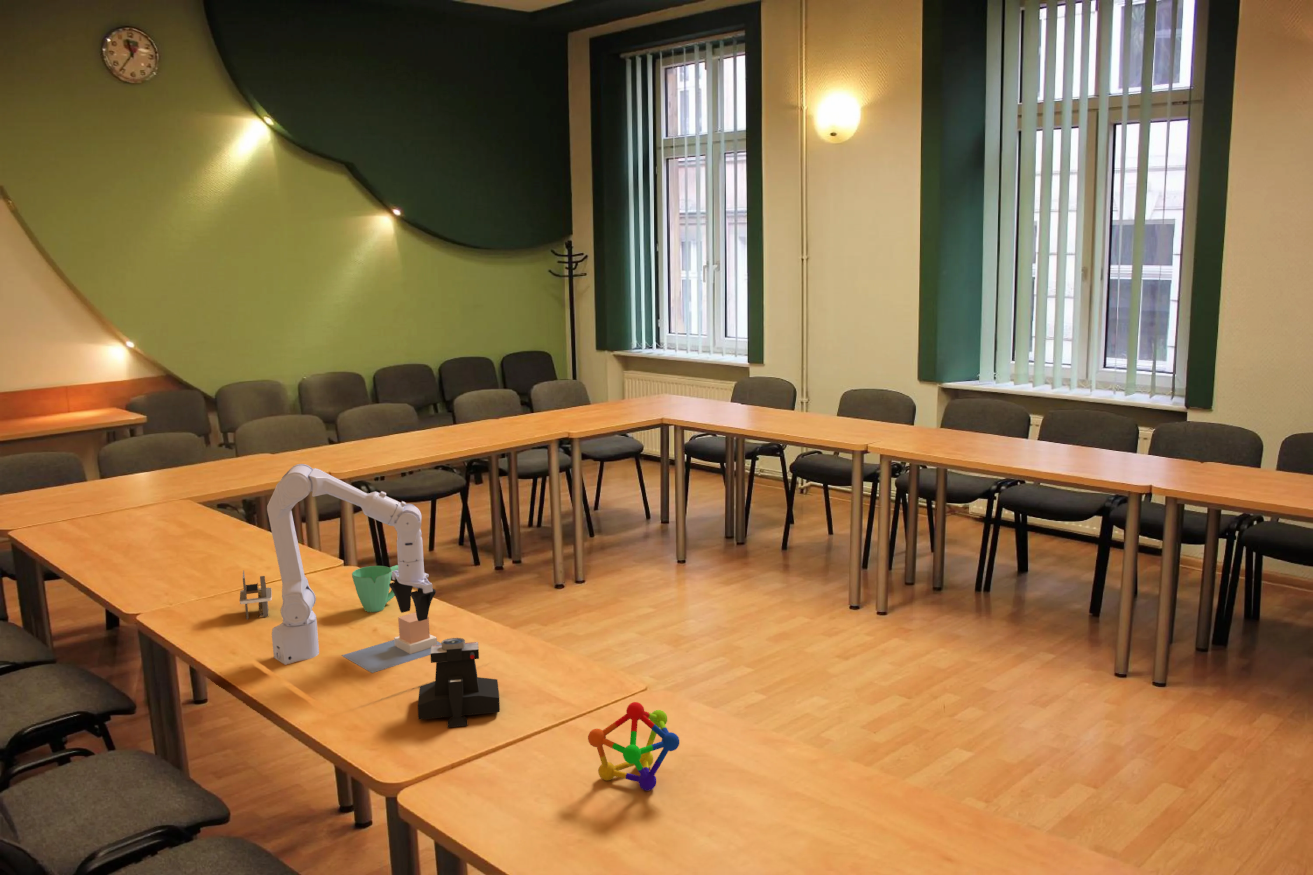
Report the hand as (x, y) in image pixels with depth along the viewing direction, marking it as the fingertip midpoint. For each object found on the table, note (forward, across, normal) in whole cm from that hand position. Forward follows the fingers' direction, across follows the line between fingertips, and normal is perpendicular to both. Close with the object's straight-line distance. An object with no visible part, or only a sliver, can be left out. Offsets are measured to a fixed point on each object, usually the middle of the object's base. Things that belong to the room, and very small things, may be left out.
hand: (413, 615), depth 250 cm
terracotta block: (+5, 0, 0) cm, 5 cm away
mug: (+8, +32, -9) cm, 34 cm away
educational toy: (+8, -82, +4) cm, 83 cm away
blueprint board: (+8, 0, +5) cm, 10 cm away
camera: (+8, -35, +11) cm, 38 cm away
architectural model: (+9, +50, +16) cm, 53 cm away
